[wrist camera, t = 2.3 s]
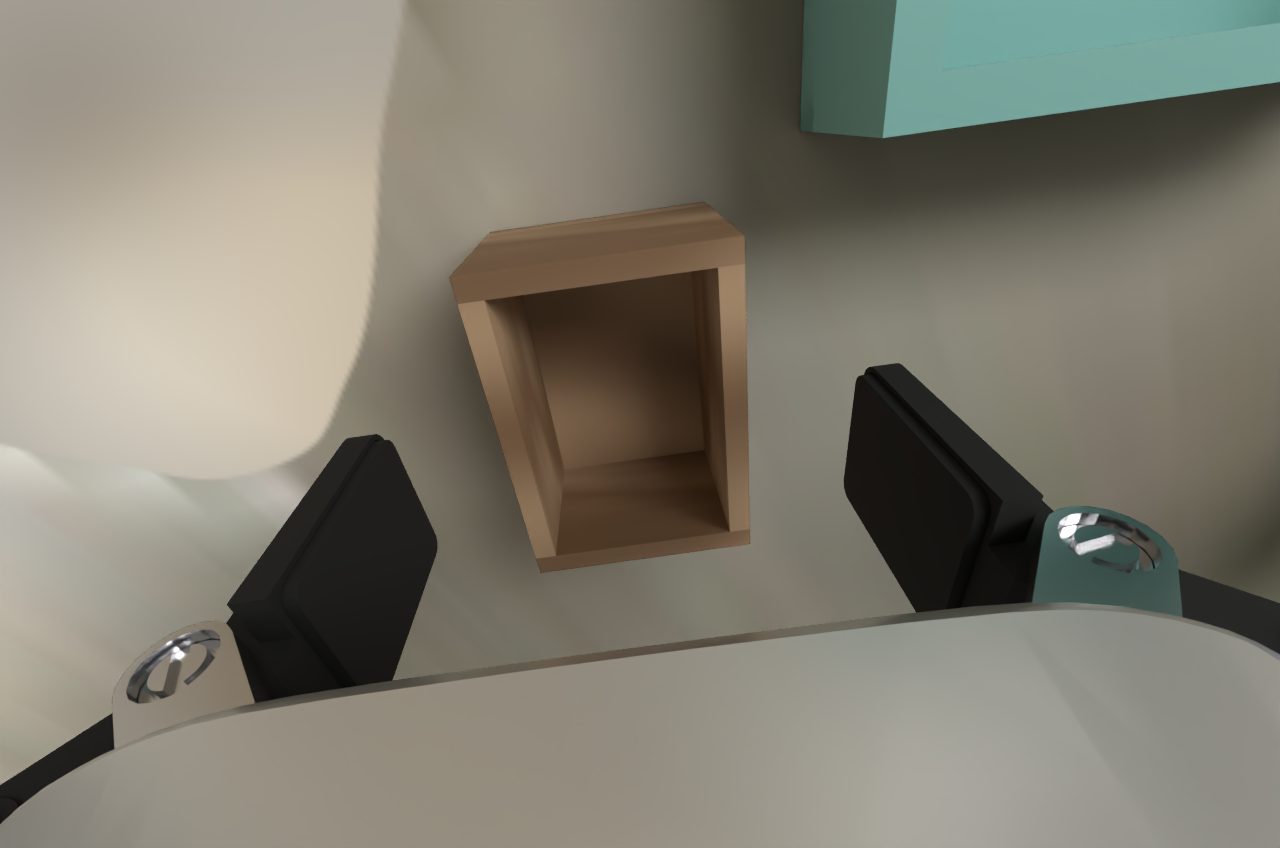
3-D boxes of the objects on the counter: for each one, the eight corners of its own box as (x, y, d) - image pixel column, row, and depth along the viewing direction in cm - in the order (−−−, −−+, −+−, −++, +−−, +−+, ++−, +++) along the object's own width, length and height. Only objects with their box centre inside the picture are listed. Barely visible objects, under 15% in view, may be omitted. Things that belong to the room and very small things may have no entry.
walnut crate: (718, 452, 20) (749, 543, 16) (553, 475, 20) (540, 573, 16) (704, 201, 16) (744, 235, 11) (490, 232, 16) (449, 277, 11)
